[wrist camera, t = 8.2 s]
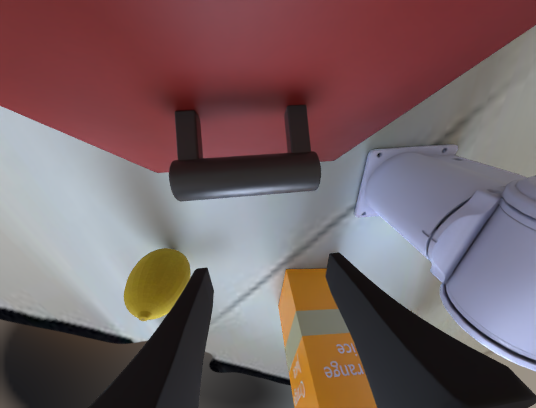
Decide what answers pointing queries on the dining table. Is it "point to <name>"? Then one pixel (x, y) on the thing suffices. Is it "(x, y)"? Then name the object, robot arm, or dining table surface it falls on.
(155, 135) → the lid
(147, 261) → the lemon
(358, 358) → the orange juice
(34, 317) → the dining table surface
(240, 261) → the dining table surface
